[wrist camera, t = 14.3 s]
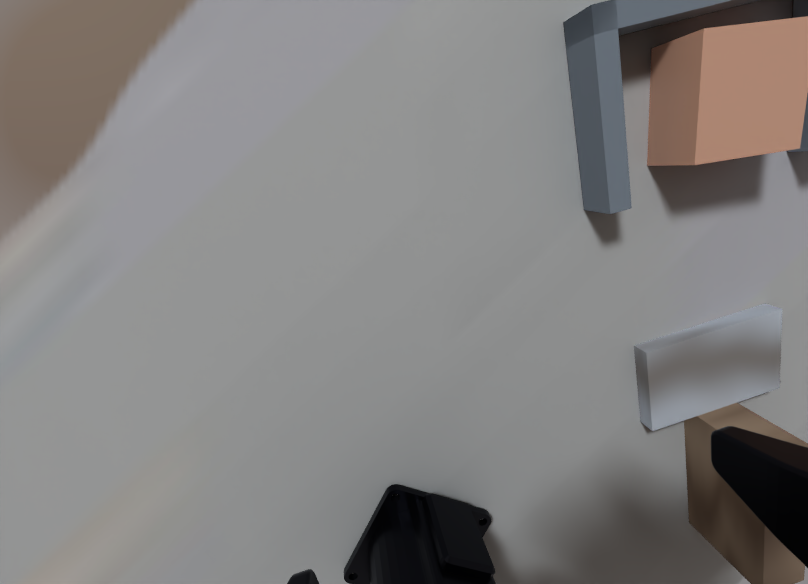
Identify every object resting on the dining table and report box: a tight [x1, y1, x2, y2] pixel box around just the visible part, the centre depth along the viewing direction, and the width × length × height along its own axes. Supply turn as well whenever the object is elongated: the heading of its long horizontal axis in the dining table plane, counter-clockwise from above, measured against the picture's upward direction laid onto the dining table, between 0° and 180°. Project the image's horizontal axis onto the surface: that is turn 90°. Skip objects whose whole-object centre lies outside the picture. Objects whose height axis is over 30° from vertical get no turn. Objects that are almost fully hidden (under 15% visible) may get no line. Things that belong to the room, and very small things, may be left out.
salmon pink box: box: [647, 16, 808, 166], centre depth 18 cm, size 5×5×3 cm
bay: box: [563, 0, 808, 214], centre depth 18 cm, size 8×12×2 cm, turn 104°
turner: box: [634, 304, 808, 584], centre depth 23 cm, size 14×8×5 cm, turn 14°
